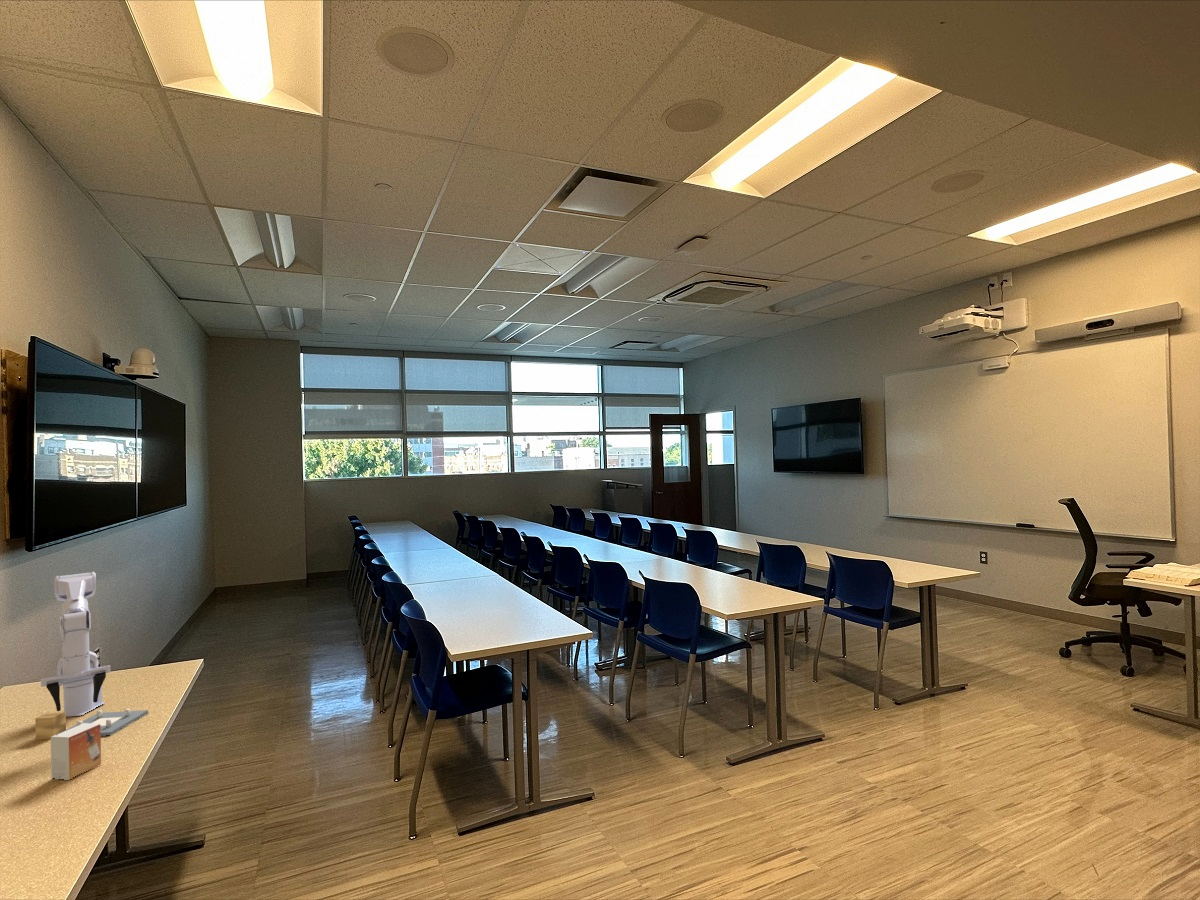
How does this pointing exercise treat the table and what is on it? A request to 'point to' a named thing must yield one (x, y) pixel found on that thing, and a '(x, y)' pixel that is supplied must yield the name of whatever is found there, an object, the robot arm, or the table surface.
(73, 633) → the robot arm
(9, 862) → the table surface
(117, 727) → the pin board
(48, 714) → the ochre block
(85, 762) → the small box
